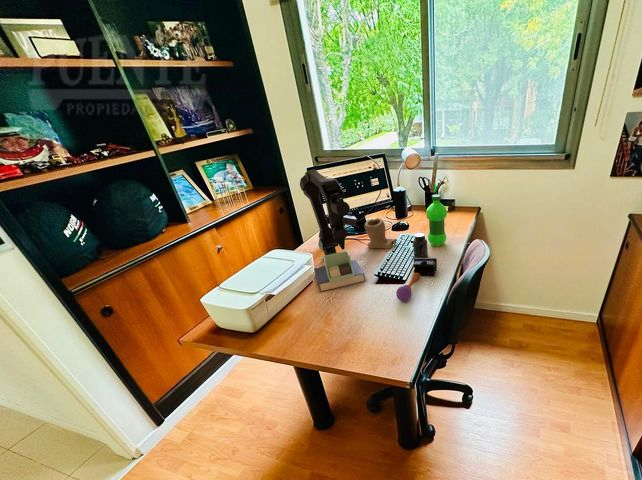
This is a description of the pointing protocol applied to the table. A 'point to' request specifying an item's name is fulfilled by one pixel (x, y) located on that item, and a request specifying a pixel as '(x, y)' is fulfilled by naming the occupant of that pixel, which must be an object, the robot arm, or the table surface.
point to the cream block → (334, 271)
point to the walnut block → (344, 269)
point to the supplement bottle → (420, 246)
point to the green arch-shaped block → (338, 260)
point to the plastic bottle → (436, 221)
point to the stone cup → (378, 234)
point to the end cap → (425, 266)
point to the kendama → (407, 288)
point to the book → (326, 285)
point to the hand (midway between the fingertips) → (342, 245)
